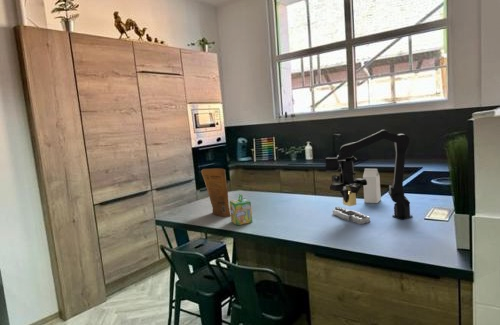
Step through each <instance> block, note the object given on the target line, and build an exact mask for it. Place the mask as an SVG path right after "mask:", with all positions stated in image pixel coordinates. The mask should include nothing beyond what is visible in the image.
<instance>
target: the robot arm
mask: <svg viewBox="0 0 500 325" xmlns="http://www.w3.org/2000/svg"><path fill="white" fill-rule="evenodd" d="M384 139H385V140H387V141H390V142H392V143H394V150H395V159H394V160H395V162H394V172H393V174H394V175H393V182H392V184H389V185H388V192H387V193H388V195H389V197H390V199H391V200H392V202H393V203H394V206H393V211H394V214H392V217H393V218H397V219H400V220H407V219H410V218H413V215H411V206H410V205H411V204H410V203H411V202H410V200H409V199H408V198H407V197H406V196H405V189H404V184H403V183H404V172H405V164H406V163H405V162H406V154H407V151H408V149H409V146H410V142H411V140H410V137H409V136H408V135H407V134H404V133H395V132H391V131H388V130H386V129H381V130H379V131H377V132H376V133H373V134H370V135H368V136H366V137H364V138H361V139H360V140H357V141H355V142H349V143H345V144H343V145H341V146H340V149H339V152H338V154H337V156H336V157H325V166H324V167H325V172H327V173H328V172H338V170H340V169H341V172H339V175H336V174H335V175H332V176H331V182H332V183H330V185H329V190H330V191H334V192H339V193H340V194H341V196H342V200H343V199H344V201H345V202H346V203H347V200H348V191H349V189H350V192H355V193H356V196H357V195H358V193H359V191H360V189H361V188H362V186H364V185H367V181H366V179H363V177H362V178H361V177H358V178H355V175H356V171H354V162H357V161H358V159H357V158H356V157H355V156H354V154H355V153H357V152H358V151H360V150H361V149H363V148H366V147H368V146H370V145H373V144H375V143H378V142H379V141H382V140H384ZM360 185H361V186H360ZM347 187H349V189H347Z"/></svg>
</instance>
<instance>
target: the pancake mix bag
mask: <svg viewBox="0 0 500 325" xmlns="http://www.w3.org/2000/svg"><path fill="white" fill-rule="evenodd" d="M200 173H201V175H202V178H203V181H204V183H205V187H206V190H207V193H208V197H209V201H210V204H211V207H212V213H211V214H212V215H214V216H217V217H218V216H220V217H223V218H226V217H227V218H228V217H231V211H230V201H229V192H228V191H229V190H228V183H227V175H226V169H224V168H219V167H218V168H217V167H216V168H202V170H201V172H200Z"/></svg>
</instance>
